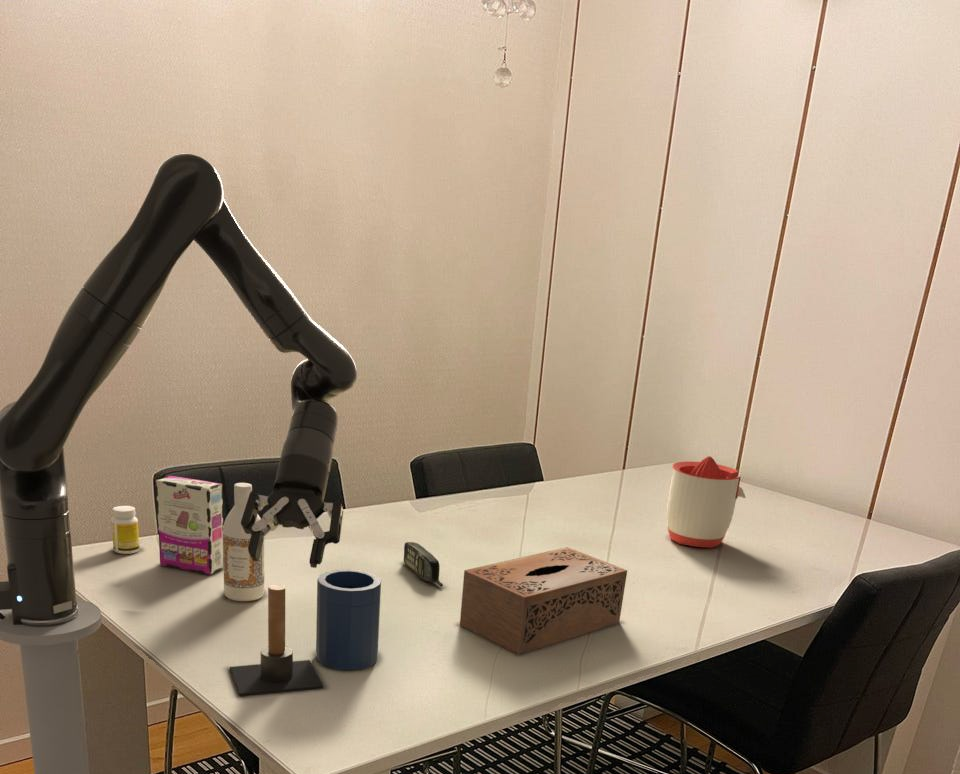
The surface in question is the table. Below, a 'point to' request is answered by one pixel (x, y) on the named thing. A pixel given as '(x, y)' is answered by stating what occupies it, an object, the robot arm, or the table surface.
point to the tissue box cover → (541, 598)
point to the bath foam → (241, 553)
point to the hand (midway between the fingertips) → (283, 562)
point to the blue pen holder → (347, 619)
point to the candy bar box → (190, 524)
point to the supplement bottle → (125, 530)
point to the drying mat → (253, 684)
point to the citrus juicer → (701, 502)
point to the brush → (276, 640)
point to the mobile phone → (422, 562)
